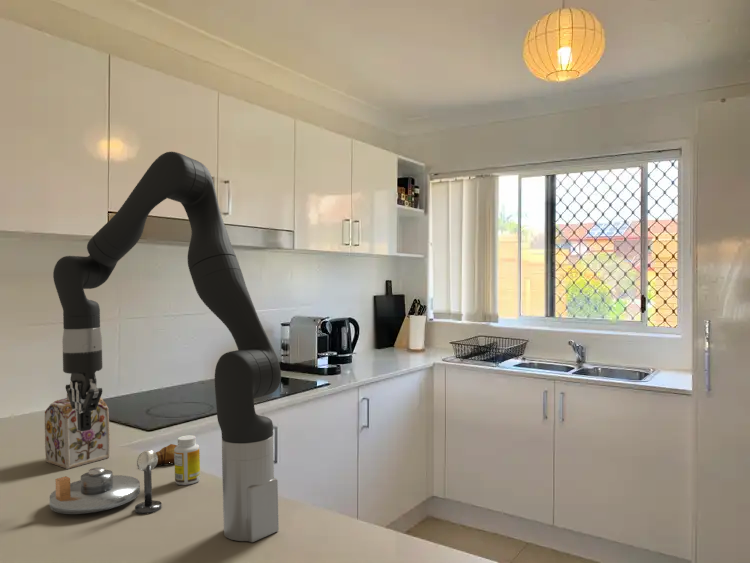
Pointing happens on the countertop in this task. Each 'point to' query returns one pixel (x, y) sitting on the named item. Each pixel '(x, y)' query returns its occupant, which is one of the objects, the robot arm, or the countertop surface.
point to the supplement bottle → (187, 460)
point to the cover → (96, 481)
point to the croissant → (166, 455)
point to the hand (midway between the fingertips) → (84, 429)
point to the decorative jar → (75, 435)
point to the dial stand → (147, 482)
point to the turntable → (92, 496)
